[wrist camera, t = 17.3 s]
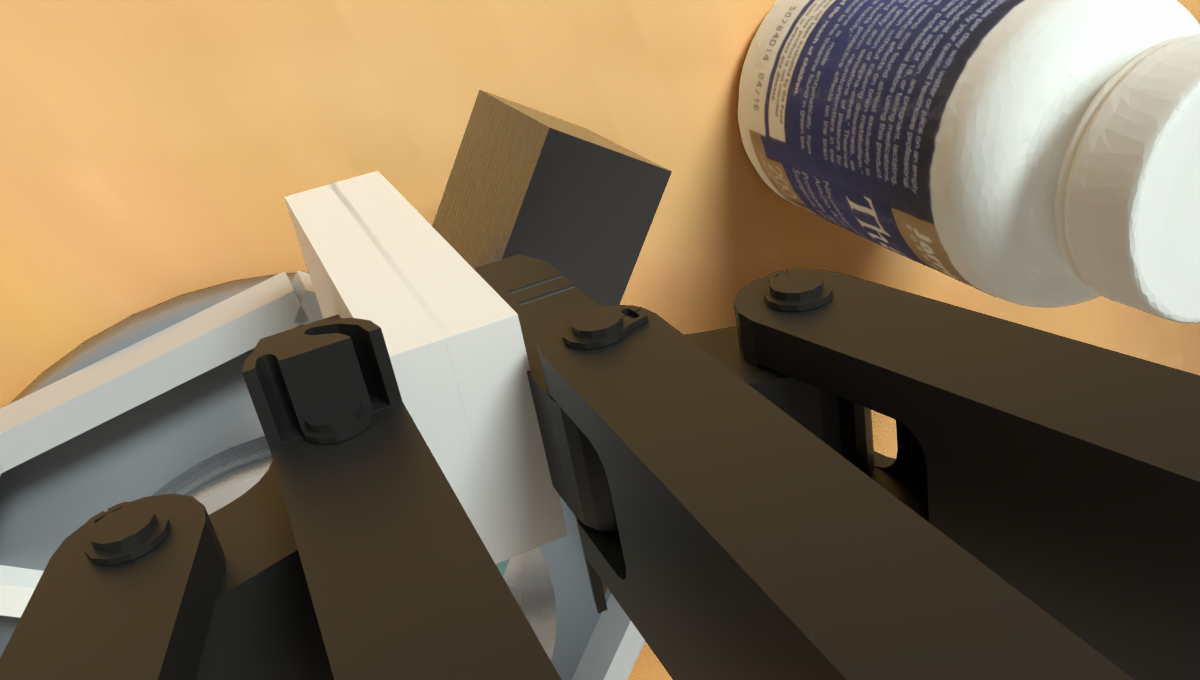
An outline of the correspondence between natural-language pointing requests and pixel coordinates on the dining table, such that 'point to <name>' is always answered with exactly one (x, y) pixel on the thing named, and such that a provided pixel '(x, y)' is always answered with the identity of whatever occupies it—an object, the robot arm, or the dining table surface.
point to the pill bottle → (993, 139)
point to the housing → (199, 446)
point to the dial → (500, 230)
